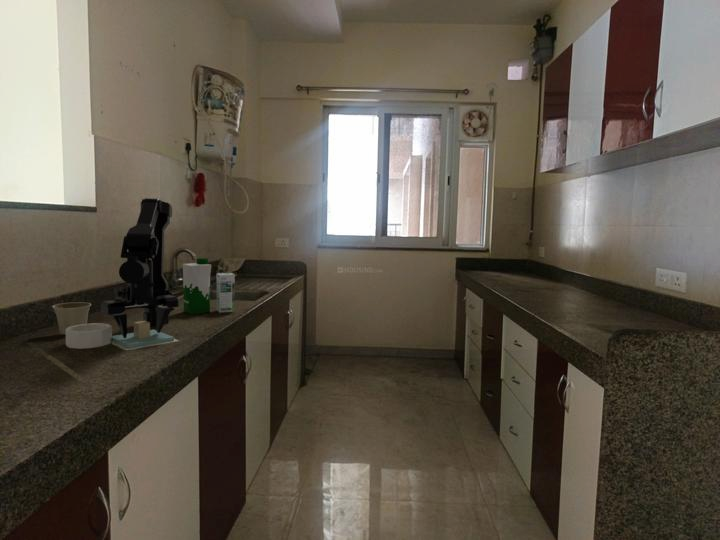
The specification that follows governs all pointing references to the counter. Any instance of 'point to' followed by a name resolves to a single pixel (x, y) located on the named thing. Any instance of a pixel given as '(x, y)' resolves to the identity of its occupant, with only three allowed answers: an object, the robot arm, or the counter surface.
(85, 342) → the bowl
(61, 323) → the flower pot
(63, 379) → the counter surface
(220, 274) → the syrup box
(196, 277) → the milk carton
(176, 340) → the mat
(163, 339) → the lid
